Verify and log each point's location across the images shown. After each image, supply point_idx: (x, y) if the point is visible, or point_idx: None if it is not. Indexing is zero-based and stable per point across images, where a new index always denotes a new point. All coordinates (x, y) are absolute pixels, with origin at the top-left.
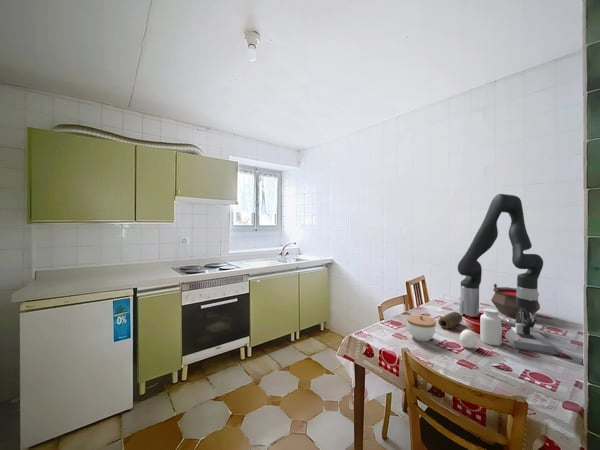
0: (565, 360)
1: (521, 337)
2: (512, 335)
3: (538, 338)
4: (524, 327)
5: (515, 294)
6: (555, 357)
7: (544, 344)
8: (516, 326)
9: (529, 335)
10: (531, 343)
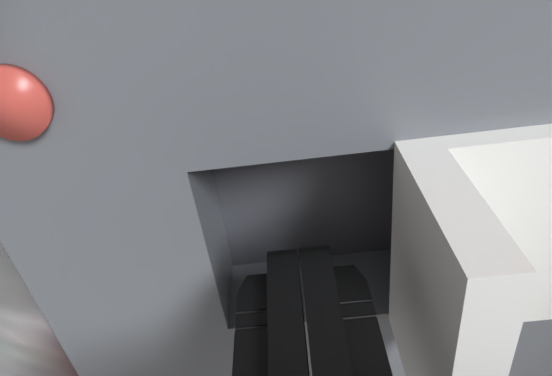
0: (34, 370)
1: None
2: (210, 42)
3: None
4: (268, 369)
5: None
6: (42, 329)
7: (96, 360)
8: (442, 228)
9: None
10: (5, 248)
